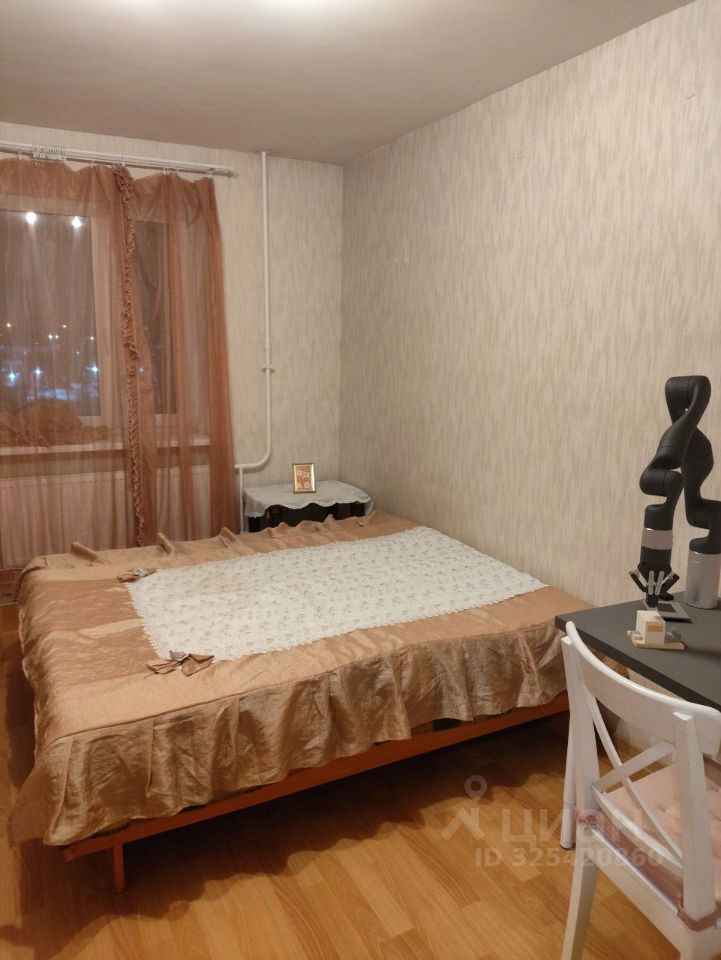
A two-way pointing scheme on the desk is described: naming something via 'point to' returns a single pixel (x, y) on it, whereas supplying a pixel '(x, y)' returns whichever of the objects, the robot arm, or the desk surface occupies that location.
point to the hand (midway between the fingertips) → (651, 606)
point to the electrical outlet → (668, 610)
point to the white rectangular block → (651, 627)
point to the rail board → (670, 642)
